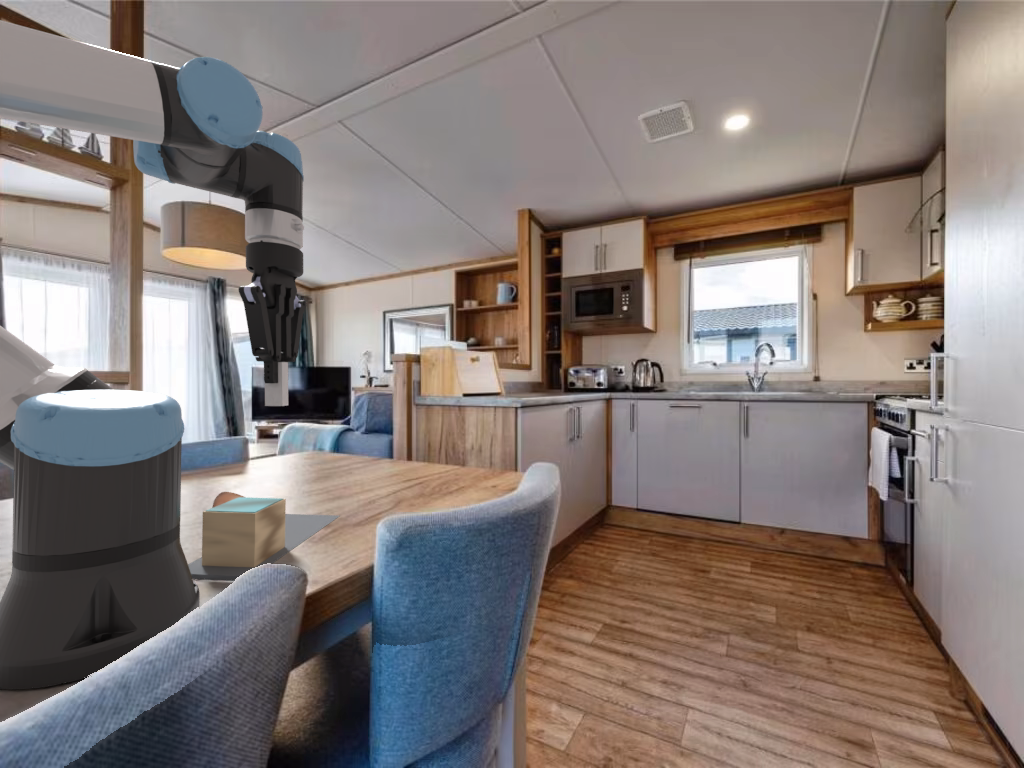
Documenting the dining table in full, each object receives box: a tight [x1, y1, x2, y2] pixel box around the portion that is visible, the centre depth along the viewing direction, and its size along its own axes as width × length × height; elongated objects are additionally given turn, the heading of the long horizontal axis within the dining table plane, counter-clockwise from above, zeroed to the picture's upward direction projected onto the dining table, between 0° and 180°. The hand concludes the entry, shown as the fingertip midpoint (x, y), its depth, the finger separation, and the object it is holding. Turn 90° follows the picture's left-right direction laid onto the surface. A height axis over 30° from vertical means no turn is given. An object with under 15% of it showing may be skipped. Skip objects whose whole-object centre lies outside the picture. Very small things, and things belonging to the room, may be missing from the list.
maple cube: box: [201, 496, 287, 567], centre depth 59 cm, size 7×7×7 cm
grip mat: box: [188, 513, 340, 582], centre depth 66 cm, size 24×10×1 cm, turn 178°
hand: (276, 405), depth 65 cm, fingers closed
